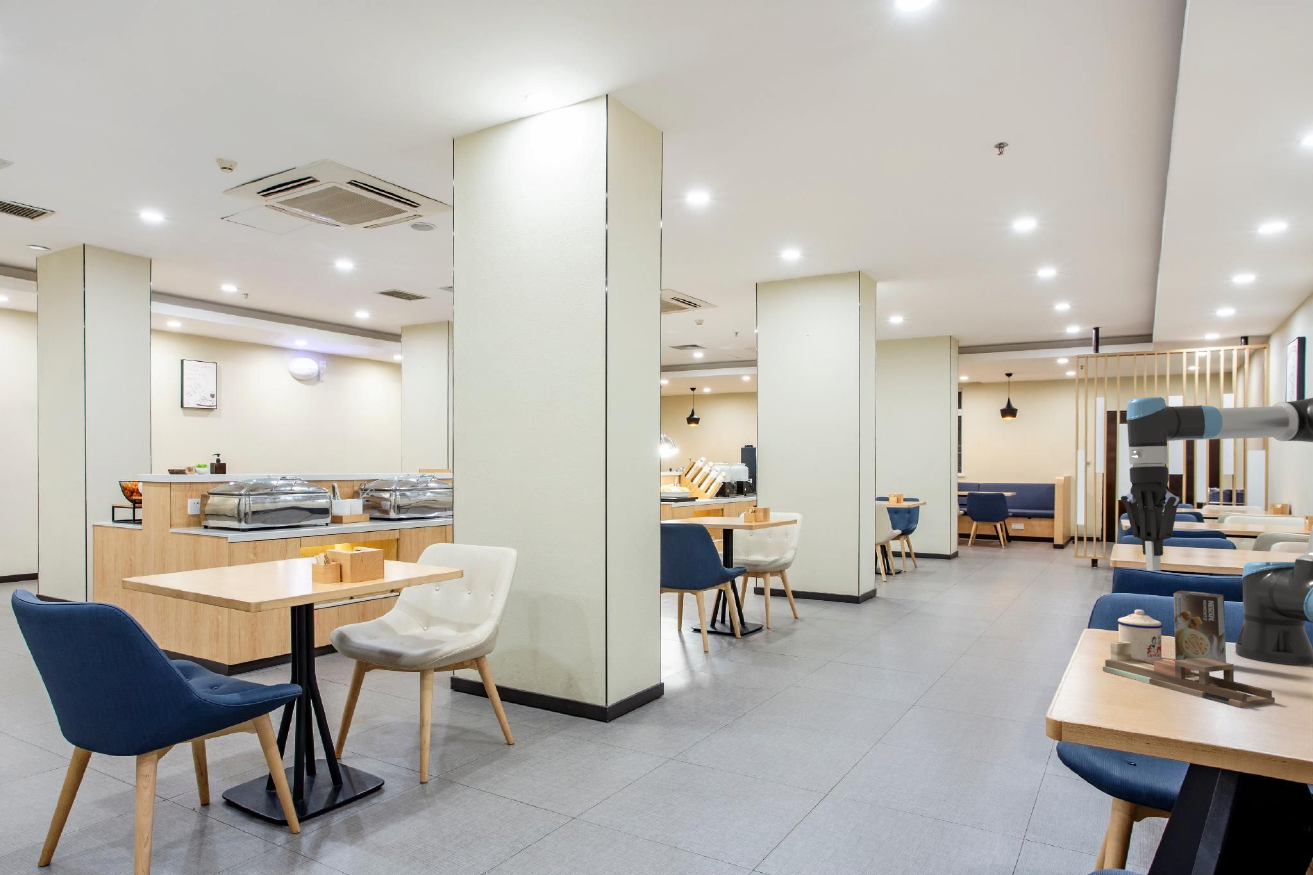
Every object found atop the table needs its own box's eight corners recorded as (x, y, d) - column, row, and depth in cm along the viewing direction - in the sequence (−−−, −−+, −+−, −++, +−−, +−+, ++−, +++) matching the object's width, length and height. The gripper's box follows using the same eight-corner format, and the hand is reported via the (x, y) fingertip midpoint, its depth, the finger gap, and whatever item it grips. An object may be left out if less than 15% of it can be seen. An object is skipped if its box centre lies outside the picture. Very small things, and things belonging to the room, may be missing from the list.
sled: (1125, 662, 178) (1124, 641, 178) (1208, 683, 161) (1208, 659, 161) (1110, 664, 176) (1110, 642, 177) (1193, 685, 159) (1193, 661, 159)
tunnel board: (1135, 667, 179) (1134, 641, 179) (1274, 702, 152) (1274, 672, 152) (1102, 671, 175) (1102, 644, 175) (1239, 707, 148) (1239, 676, 148)
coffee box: (1227, 664, 184) (1226, 594, 184) (1220, 668, 179) (1219, 597, 180) (1181, 657, 190) (1180, 589, 191) (1173, 661, 186) (1172, 592, 187)
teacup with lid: (1155, 666, 180) (1155, 614, 181) (1112, 659, 187) (1111, 609, 188) (1171, 658, 188) (1171, 609, 189) (1129, 652, 195) (1128, 604, 196)
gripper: (1110, 466, 184) (1115, 568, 183) (1165, 465, 172) (1170, 574, 171) (1133, 465, 187) (1137, 566, 186) (1188, 464, 175) (1193, 572, 174)
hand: (1153, 570), depth 179 cm, fingers closed
